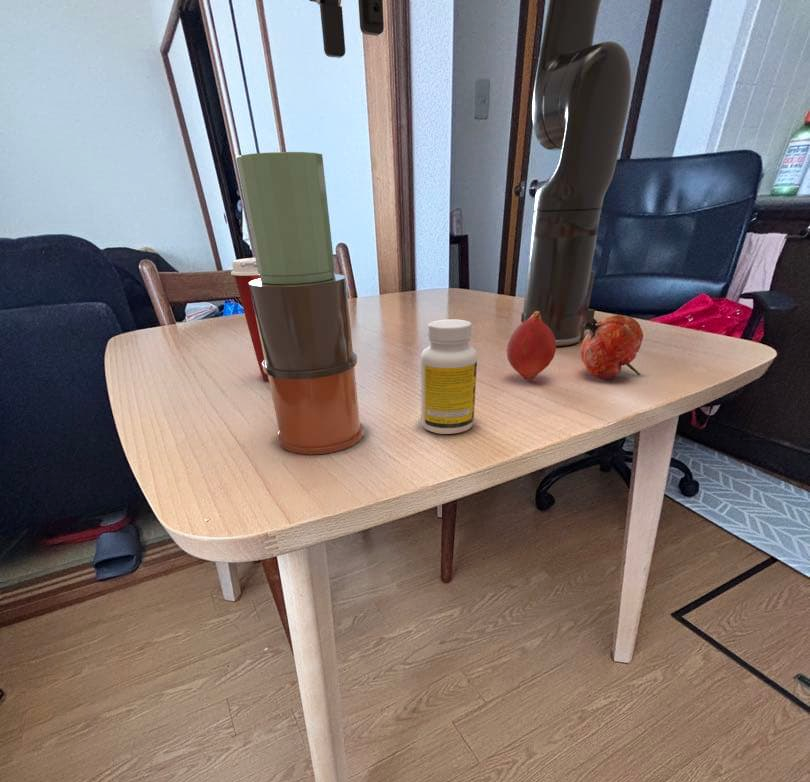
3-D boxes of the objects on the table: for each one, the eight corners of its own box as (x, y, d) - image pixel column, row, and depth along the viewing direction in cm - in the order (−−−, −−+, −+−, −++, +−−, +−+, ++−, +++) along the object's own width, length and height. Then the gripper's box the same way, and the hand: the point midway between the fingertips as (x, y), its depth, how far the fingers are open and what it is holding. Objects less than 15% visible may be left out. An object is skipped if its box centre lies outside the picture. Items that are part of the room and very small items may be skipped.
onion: (495, 381, 60) (500, 312, 55) (519, 370, 63) (526, 305, 58) (536, 389, 56) (545, 317, 52) (559, 378, 60) (570, 309, 55)
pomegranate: (615, 383, 64) (563, 335, 62) (664, 341, 59) (608, 287, 57) (618, 407, 59) (560, 356, 57) (671, 363, 54) (610, 305, 52)
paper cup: (298, 385, 61) (277, 261, 53) (244, 383, 63) (216, 263, 54) (318, 367, 67) (302, 255, 59) (269, 366, 69) (247, 256, 61)
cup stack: (341, 414, 52) (324, 270, 44) (378, 440, 46) (367, 278, 38) (267, 432, 49) (233, 280, 40) (296, 462, 42) (263, 290, 34)
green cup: (318, 272, 43) (303, 160, 38) (347, 278, 38) (335, 152, 33) (251, 279, 40) (227, 159, 35) (274, 287, 36) (250, 151, 31)
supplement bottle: (482, 431, 47) (489, 326, 41) (431, 439, 46) (431, 332, 40) (461, 412, 51) (465, 315, 45) (414, 419, 50) (412, 320, 44)
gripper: (417, -286, 35) (421, 30, 44) (337, -173, 45) (354, 65, 54) (324, -329, 32) (349, 21, 41) (261, -197, 42) (293, 59, 51)
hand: (352, 46), depth 48 cm, fingers open, 8 cm apart
